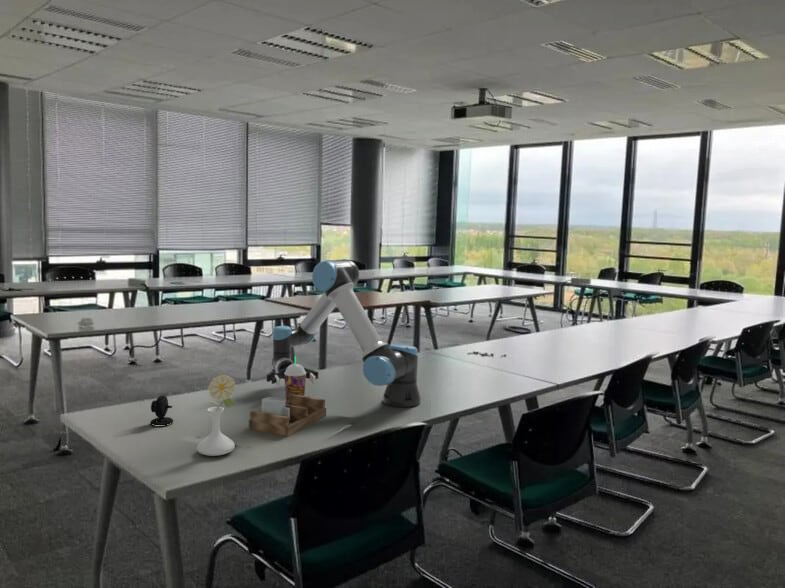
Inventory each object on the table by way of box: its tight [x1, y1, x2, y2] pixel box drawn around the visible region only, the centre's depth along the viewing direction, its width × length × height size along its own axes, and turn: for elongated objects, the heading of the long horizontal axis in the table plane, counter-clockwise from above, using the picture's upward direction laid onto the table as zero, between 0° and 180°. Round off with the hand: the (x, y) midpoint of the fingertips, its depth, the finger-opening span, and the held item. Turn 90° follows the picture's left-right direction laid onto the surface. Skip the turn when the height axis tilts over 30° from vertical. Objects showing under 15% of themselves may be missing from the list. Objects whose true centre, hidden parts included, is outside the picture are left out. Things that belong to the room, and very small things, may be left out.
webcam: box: [150, 395, 174, 425], centre depth 217 cm, size 8×8×10 cm
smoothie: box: [284, 355, 307, 403], centre depth 239 cm, size 8×8×20 cm
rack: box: [248, 394, 327, 437], centre depth 218 cm, size 16×24×8 cm, turn 155°
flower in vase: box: [196, 374, 237, 457], centre depth 191 cm, size 13×11×25 cm
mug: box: [261, 396, 290, 421], centre depth 213 cm, size 10×8×9 cm
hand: (296, 381), depth 235 cm, fingers open, 13 cm apart
